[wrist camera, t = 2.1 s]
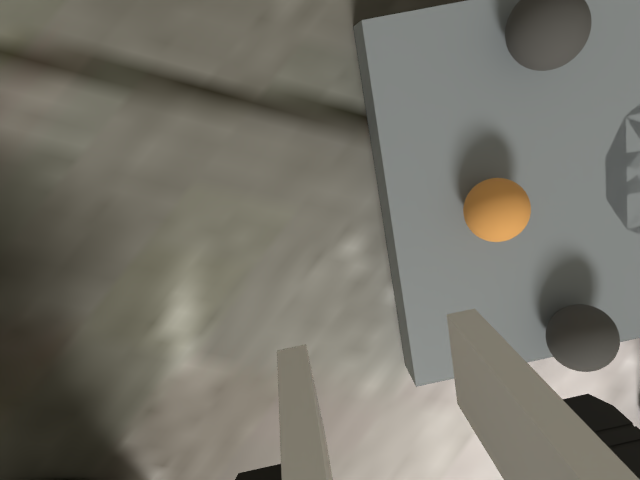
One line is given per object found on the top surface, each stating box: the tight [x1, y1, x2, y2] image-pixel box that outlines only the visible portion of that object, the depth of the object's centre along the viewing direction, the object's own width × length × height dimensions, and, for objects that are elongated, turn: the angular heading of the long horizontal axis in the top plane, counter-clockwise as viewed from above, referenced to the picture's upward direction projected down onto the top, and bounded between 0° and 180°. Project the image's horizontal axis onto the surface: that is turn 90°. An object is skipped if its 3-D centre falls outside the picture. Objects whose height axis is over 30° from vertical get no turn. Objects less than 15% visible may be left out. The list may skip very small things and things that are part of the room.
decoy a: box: [505, 0, 592, 71], centre depth 24 cm, size 4×4×4 cm
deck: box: [353, 0, 640, 387], centre depth 29 cm, size 22×20×2 cm
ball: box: [463, 178, 531, 242], centre depth 26 cm, size 3×3×3 cm
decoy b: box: [546, 304, 620, 372], centre depth 28 cm, size 4×4×4 cm
